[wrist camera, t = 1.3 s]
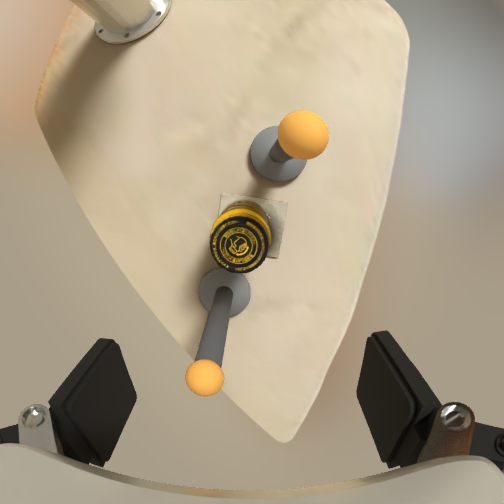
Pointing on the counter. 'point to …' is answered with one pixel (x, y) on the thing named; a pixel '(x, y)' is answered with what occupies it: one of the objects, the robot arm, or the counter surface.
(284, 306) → the counter surface
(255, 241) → the condiment
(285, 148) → the stand
